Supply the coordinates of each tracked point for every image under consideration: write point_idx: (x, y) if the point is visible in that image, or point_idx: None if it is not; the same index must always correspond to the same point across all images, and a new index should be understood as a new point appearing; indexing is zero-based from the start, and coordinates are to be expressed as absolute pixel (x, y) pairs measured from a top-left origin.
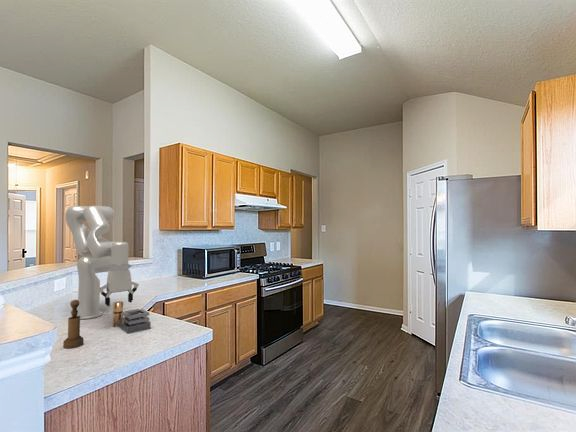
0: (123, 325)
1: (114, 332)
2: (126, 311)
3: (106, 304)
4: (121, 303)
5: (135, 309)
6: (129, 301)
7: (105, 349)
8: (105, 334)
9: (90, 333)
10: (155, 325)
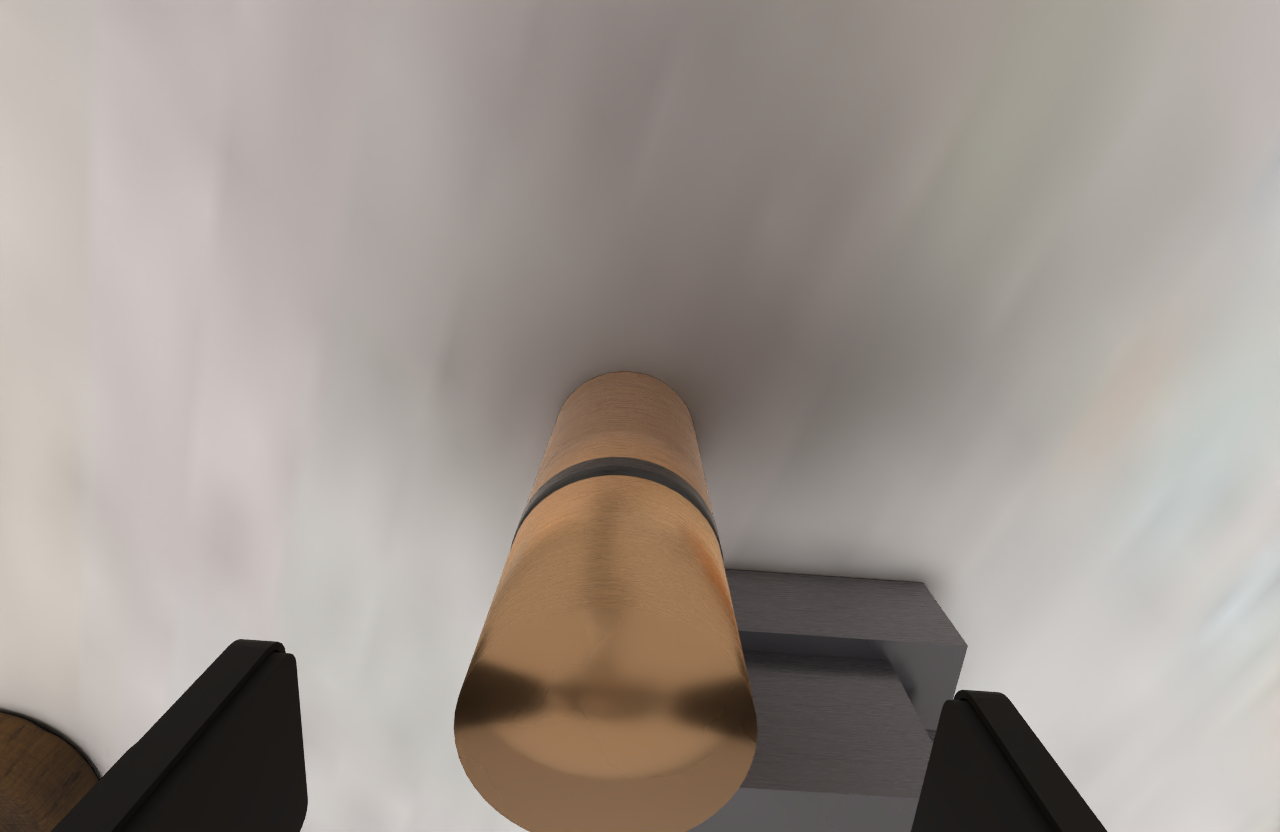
0: None
1: None
2: None
3: (230, 673)
4: (654, 824)
5: (902, 799)
6: (927, 816)
7: None
8: (371, 684)
9: (214, 514)
10: None
